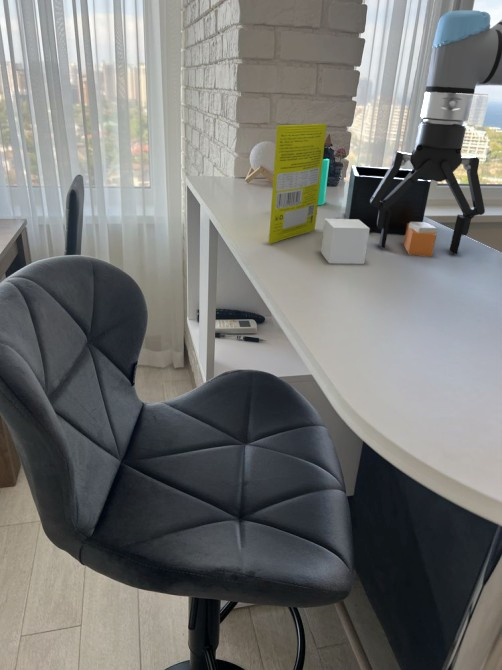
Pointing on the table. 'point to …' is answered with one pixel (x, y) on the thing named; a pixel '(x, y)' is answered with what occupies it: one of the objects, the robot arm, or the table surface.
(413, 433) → the table surface
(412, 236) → the orange and grey block
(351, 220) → the white cube
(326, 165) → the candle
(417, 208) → the black open storage box
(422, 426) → the table surface
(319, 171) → the food package
